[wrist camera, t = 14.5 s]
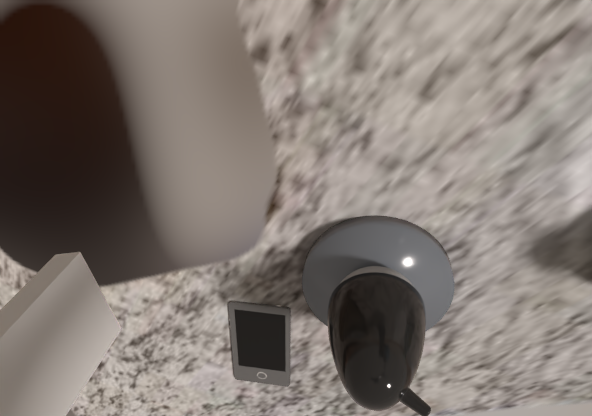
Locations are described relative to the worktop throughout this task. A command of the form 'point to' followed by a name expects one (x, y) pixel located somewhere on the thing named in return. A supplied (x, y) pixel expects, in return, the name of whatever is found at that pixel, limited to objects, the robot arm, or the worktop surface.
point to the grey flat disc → (379, 261)
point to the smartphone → (260, 342)
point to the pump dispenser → (378, 337)
